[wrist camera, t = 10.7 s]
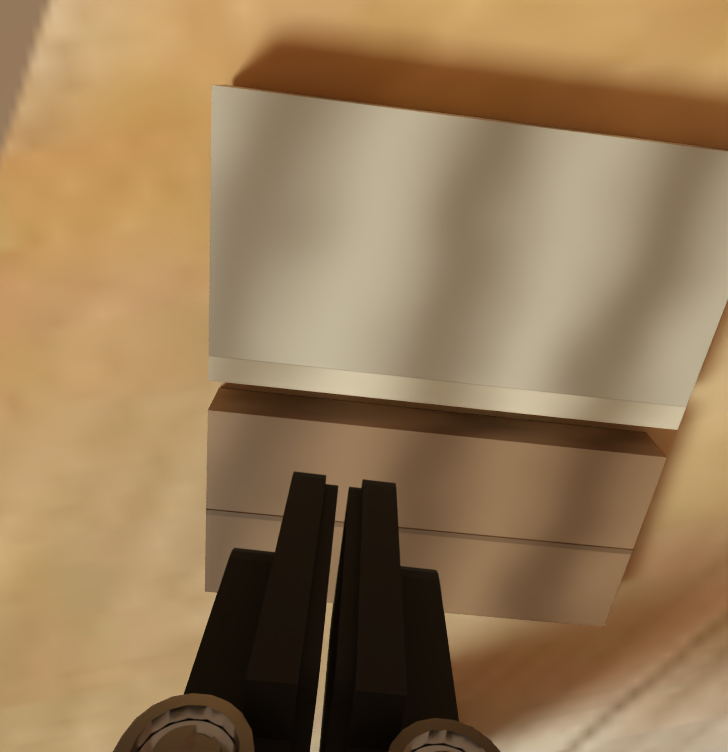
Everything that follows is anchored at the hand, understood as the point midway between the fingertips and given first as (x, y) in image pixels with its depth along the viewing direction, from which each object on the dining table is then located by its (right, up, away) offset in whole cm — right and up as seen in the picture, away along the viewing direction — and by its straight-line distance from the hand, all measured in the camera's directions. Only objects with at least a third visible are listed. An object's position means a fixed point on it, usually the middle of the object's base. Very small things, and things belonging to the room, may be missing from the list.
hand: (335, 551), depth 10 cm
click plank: (+4, +7, +13) cm, 15 cm away
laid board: (+3, -3, +17) cm, 18 cm away
